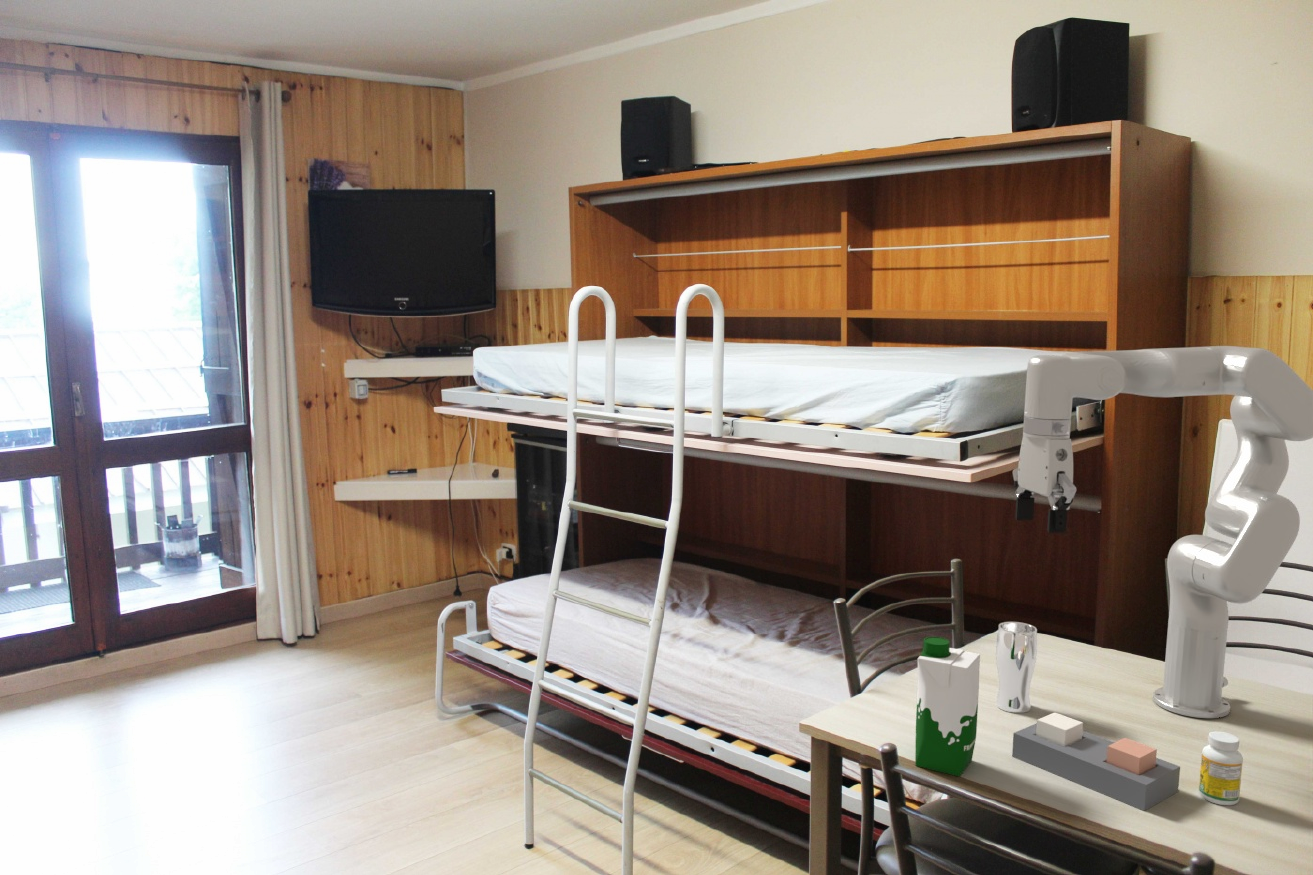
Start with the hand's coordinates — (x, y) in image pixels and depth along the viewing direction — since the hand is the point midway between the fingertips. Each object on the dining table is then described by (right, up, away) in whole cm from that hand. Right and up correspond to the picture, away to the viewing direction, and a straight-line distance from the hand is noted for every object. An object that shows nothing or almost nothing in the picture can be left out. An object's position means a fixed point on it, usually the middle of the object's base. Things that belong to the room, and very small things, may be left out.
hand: (1039, 526), depth 178 cm
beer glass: (-1, -34, +10) cm, 35 cm away
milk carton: (-20, -37, -13) cm, 44 cm away
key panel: (+2, -38, -16) cm, 41 cm away
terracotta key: (+6, -35, -21) cm, 42 cm away
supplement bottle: (+18, -39, -24) cm, 49 cm away
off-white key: (-1, -34, -12) cm, 36 cm away
